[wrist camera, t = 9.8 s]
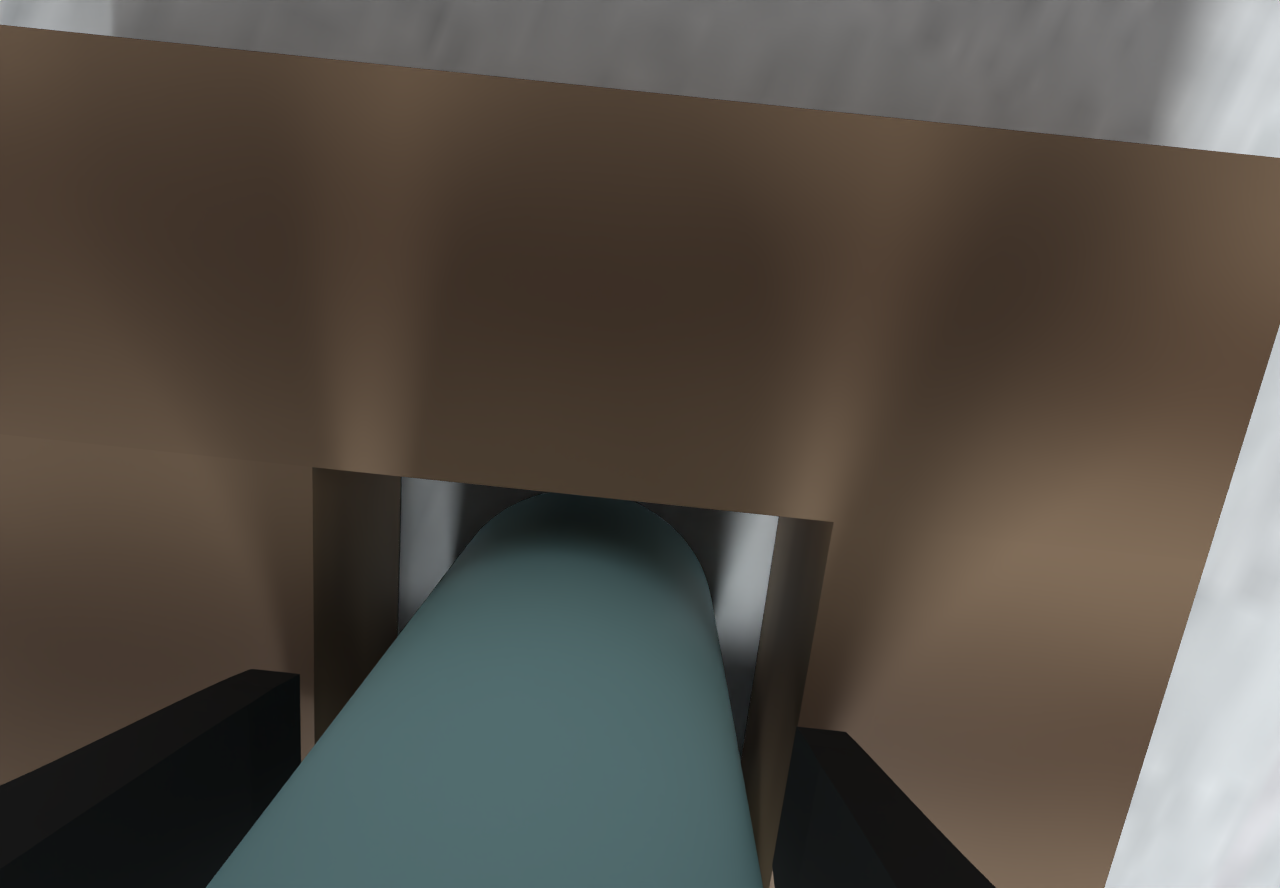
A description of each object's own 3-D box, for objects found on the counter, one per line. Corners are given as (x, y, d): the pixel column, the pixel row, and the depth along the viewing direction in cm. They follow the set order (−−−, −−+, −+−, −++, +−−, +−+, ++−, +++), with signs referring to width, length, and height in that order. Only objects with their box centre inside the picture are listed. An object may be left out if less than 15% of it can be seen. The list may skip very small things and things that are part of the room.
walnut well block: (930, 1011, 14) (1004, 1205, 11) (165, 929, 14) (32, 1101, 11) (1135, 201, 10) (1329, 163, 7) (107, 94, 10) (-114, 13, 7)
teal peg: (695, 745, 12) (760, 1493, 5) (444, 718, 12) (89, 1419, 5) (728, 505, 11) (883, 953, 4) (454, 475, 11) (16, 861, 4)
